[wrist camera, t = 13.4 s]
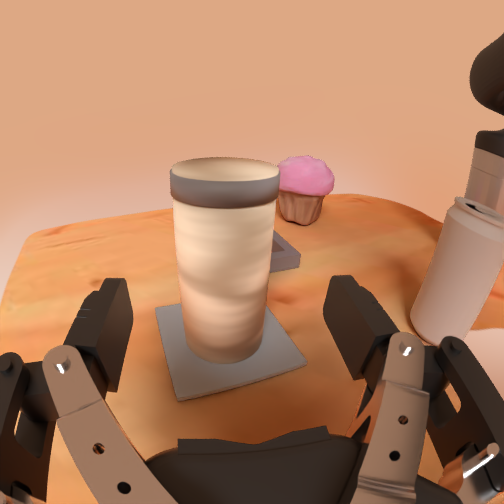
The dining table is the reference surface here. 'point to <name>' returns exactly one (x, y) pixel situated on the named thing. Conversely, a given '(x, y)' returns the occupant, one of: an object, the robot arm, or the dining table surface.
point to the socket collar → (283, 255)
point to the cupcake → (303, 188)
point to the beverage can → (459, 272)
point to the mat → (223, 375)
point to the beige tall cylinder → (224, 252)
